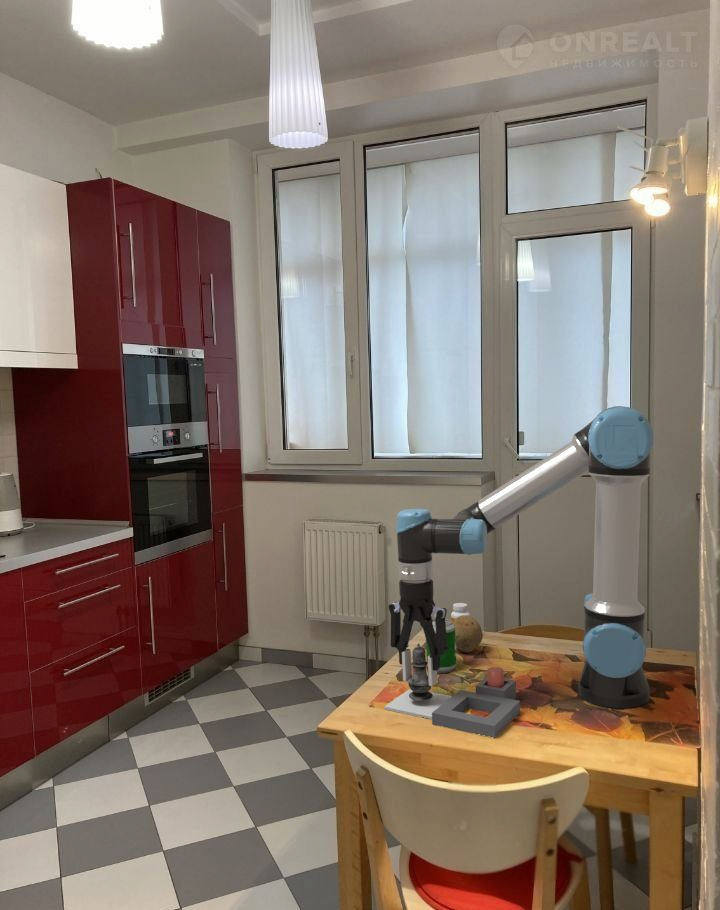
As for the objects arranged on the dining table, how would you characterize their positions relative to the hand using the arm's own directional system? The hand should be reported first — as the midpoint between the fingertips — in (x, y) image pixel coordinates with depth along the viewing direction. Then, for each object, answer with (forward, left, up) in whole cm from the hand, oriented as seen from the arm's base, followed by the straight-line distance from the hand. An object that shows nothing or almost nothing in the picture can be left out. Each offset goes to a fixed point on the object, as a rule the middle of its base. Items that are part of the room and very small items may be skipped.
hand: (420, 681), depth 166 cm
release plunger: (-14, -10, -4) cm, 17 cm away
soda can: (+6, -22, -6) cm, 23 cm away
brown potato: (+6, -36, -6) cm, 37 cm away
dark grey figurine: (0, 0, -4) cm, 4 cm away
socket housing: (-14, -2, -5) cm, 15 cm away
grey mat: (0, 0, -5) cm, 5 cm away
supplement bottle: (+12, -46, -6) cm, 48 cm away
